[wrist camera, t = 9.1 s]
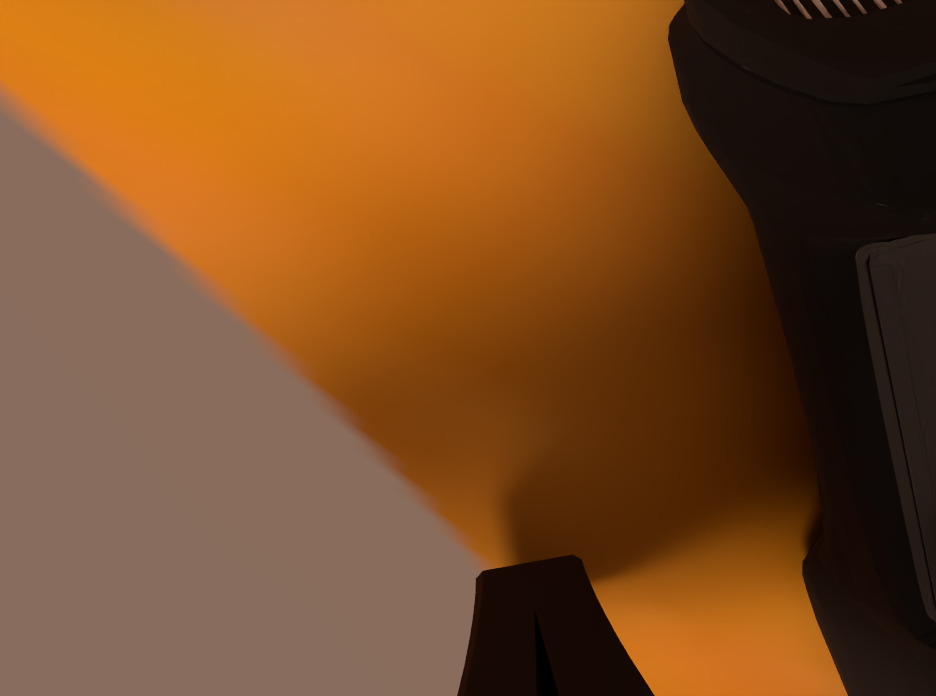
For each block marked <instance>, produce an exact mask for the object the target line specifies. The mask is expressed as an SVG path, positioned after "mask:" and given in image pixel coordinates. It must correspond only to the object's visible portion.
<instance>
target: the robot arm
mask: <svg viewBox="0 0 936 696" xmlns="http://www.w3.org/2000/svg"><path fill="white" fill-rule="evenodd" d="M457 696H654V694H653V693H652V691H651V689H650V688H649V686H648V685H647V683H646V682H645V680H644V679H643V677H642V675H641V674H640V672H639V671H638V669H637V668H636V666H635V665H634V663H633V661H632V660H631V658H630V657H629V655H628V653H627V652H626V650H625V648H624V647H623V645H622V643H621V642H620V640H619V638H618V637H617V635H616V633H615V631H614V629H613V627H612V626H611V624H610V622H609V620H608V618H607V616H606V615H605V613H604V611H603V609H602V607H601V605H600V603H599V601H598V599H597V597H596V595H595V592H594V590H593V588H592V586H591V583H590V581H589V579H588V576H587V574H586V571H585V568H584V565H583V562H582V560H581V559H580V558H578V557H576V556H574V555H568V556H563V557H557V558H552V559H546V560H541V561H535V562H529V563H524V564H518V565H513V566H507V567H502V568H496V569H491V570H485V571H482V572H481V574H480V575H479V576H478V577H477V578H476V594H475V604H474V614H473V621H472V627H471V635H470V640H469V645H468V650H467V655H466V661H465V666H464V670H463V674H462V678H461V683H460V687H459V691H458V695H457Z"/></svg>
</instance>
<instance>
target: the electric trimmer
mask: <svg viewBox="0 0 936 696" xmlns="http://www.w3.org/2000/svg"><path fill="white" fill-rule="evenodd" d="M684 2H685V5H684V6H683V7H682V8H681V9H680V11H679V12H678V13H677V14H676V15H675V17H674V18H673V20H672V21H671V23H670V25H669V34H668V41H669V45H670V50H671V54H672V58H673V63H674V67H675V71H676V76H677V80H678V85H679V89H680V93H681V98H682V102H683V104H684V106H685V108H686V110H687V112H688V114H689V116H690V119H691V121H692V123H693V125H694V127H695V129H696V131H697V132H698V134H699V136H700V137H701V139H702V140H703V142H704V144H705V145H706V147H707V148H708V150H709V151H710V153H711V154H712V156H713V157H714V159H715V160H716V162H717V163H718V164H719V166H720V167H721V169H722V170H723V172H724V173H725V175H726V176H727V178H728V179H729V181H730V182H731V184H732V185H733V186H734V188H735V189H736V191H737V192H738V194H739V195H740V197H741V198H742V200H743V201H744V203H745V204H746V206H747V207H748V210H749V213H750V216H751V219H752V221H753V224H754V228H755V231H756V235H757V238H758V242H759V245H760V249H761V253H762V256H763V260H764V263H765V267H766V270H767V274H768V277H769V281H770V284H771V288H772V292H773V295H774V299H775V302H776V306H777V309H778V313H779V316H780V320H781V324H782V327H783V331H784V334H785V338H786V341H787V345H788V348H789V352H790V355H791V359H792V363H793V367H794V372H795V376H796V380H797V384H798V388H799V393H800V397H801V401H802V405H803V409H804V414H805V418H806V422H807V426H808V430H809V434H810V439H811V443H812V448H813V453H814V458H815V464H816V469H817V476H818V485H819V493H820V502H821V510H822V519H823V527H824V531H823V533H822V534H821V536H820V537H819V538H818V540H817V541H816V543H815V544H814V546H813V547H812V549H811V550H810V551H809V553H808V554H807V556H806V557H805V559H804V560H803V566H802V575H803V578H804V582H805V586H806V589H807V592H808V595H809V598H810V601H811V605H812V608H813V611H814V614H815V617H816V620H817V622H818V625H819V627H820V629H821V632H822V634H823V637H824V639H825V641H826V644H827V646H828V649H829V651H830V653H831V656H832V658H833V661H834V663H835V666H836V668H837V670H838V673H839V675H840V678H841V680H842V682H843V685H844V687H845V690H846V692H847V694H848V696H936V607H935V606H936V0H684ZM926 557H927V558H926ZM927 562H928V563H927ZM928 567H929V568H928ZM929 572H930V573H929Z"/></svg>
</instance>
